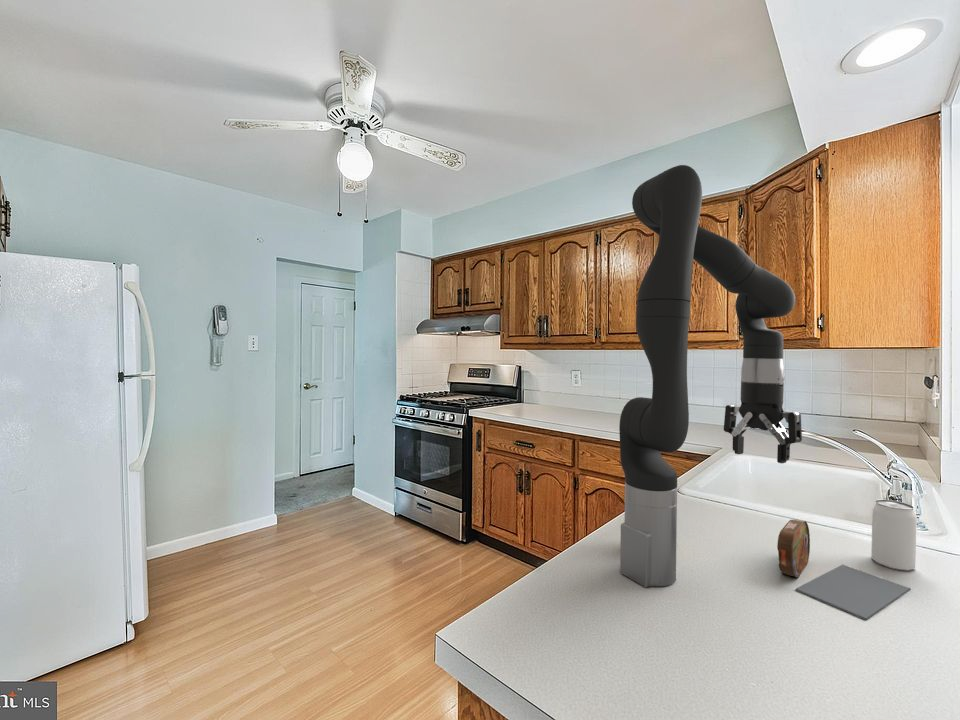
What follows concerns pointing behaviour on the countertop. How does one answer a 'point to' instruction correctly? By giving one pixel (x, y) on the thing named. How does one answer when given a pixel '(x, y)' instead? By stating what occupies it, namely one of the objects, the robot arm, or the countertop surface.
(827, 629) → the countertop surface
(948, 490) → the countertop surface
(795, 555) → the tin
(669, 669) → the countertop surface
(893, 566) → the can
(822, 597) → the mat
